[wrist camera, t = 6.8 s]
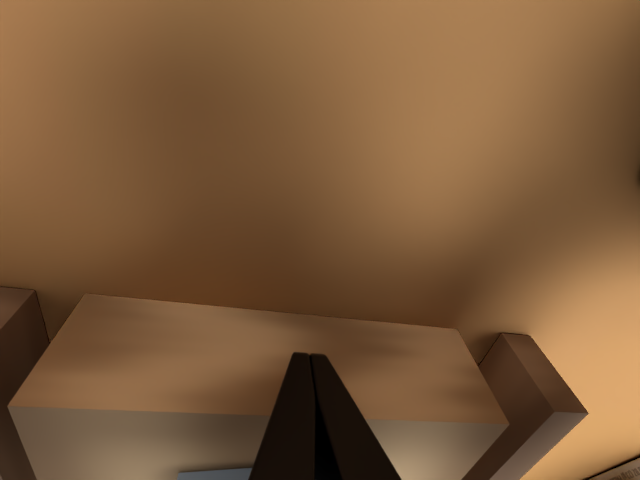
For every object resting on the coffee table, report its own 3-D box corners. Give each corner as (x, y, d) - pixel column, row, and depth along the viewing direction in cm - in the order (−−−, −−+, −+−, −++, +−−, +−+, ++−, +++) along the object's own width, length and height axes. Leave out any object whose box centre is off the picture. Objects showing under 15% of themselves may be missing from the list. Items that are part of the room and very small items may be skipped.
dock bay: (529, 335, 13) (588, 413, 11) (411, 493, 20) (429, 564, 17) (-15, 285, 10) (-116, 380, 7) (62, 495, 16) (22, 583, 14)
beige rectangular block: (451, 317, 13) (509, 424, 10) (371, 457, 18) (392, 558, 15) (92, 282, 11) (7, 406, 7) (117, 454, 16) (74, 573, 13)
